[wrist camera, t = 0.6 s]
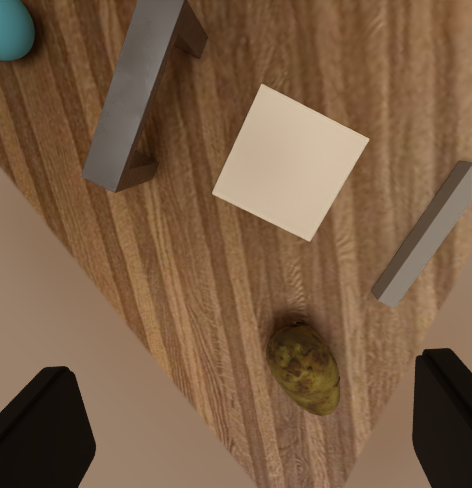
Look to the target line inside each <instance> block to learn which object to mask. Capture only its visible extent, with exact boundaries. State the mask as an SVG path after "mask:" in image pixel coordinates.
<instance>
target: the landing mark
mask: <svg viewBox="0 0 472 488" xmlns="http://www.w3.org/2000/svg"><path fill="white" fill-rule="evenodd" d="M368 141H369V139H368V138H367V137H365V136H363V135H361V134H359V133H357V132H355V131H353V130H351V129H349V128H347V127H345V126H343V125H341V124H339V123H337V122H335V121H333V120H331V119H330V118H328V117H326V116H324V115H322V114H320V113H318V112H316V111H314V110H312V109H310V108H308V107H306V106H304V105H302V104H300V103H298V102H296V101H294V100H293V99H291V98H289V97H287V96H285V95H283V94H281V93H279V92H277V91H275V90H273V89H271V88H269V87H267V86H265V85H263V84H261V86H260V89H259V91H258V93H257V95H256V97H255V100H254V102H253V104H252V106H251V108H250V111H249V113H248V115H247V117H246V119H245V122H244V124H243V126H242V128H241V130H240V133H239V135H238V137H237V139H236V141H235V143H234V146H233V148H232V150H231V152H230V154H229V157H228V159H227V161H226V163H225V165H224V168H223V170H222V172H221V174H220V176H219V179H218V181H217V183H216V185H215V187H214V190H213V192H212V194H213V195H215V196H217V197H219V198H221V199H223V200H225V201H228V202H230V203H232V204H234V205H236V206H238V207H240V208H242V209H244V210H246V211H248V212H250V213H252V214H254V215H256V216H258V217H260V218H262V219H264V220H266V221H268V222H270V223H272V224H274V225H276V226H279V227H281V228H283V229H285V230H287V231H289V232H291V233H293V234H295V235H297V236H299V237H301V238H303V239H305V240H307V241H309V242H310V241H311V239H312V237H313V236H314V234H315V232H316V231H317V229H318V227H319V225H320V224H321V222H322V220H323V219H324V217H325V215H326V213H327V212H328V210H329V208H330V206H331V205H332V203H333V201H334V200H335V198H336V196H337V194H338V193H339V191H340V189H341V188H342V186H343V184H344V182H345V181H346V179H347V177H348V175H349V174H350V172H351V170H352V169H353V167H354V165H355V163H356V162H357V160H358V158H359V157H360V155H361V153H362V151H363V150H364V148H365V146H366V144H367V143H368Z"/></svg>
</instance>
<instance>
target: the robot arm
mask: <svg viewBox="0 0 472 488" xmlns="http://www.w3.org/2000/svg"><path fill="white" fill-rule="evenodd" d="M412 440H413V446H414V450H415V453H416V455H417V457H418V459H419V462H420V464H421V466H422V468H423V470H424V472H425V474H426V476H427V478H428V481H429V483H430V485H431V487H432V488H472V373H471V371H470V370H469V369H468V368H467V367H466V366H465V365H464V363H463V362H462V361H461V360H460V359H459V358H458V357H457V355H456V354H455V353H454V352H453V351H452V350H451V349H449V348H441V349H425V350H424V351H423V353H422V355H419V356H417V357H416V364H415V387H414V409H413V434H412ZM95 451H96V443H95V440H94V437H93V433H92V430H91V426H90V423H89V420H88V417H87V413H86V410H85V407H84V403H83V400H82V397H81V393H80V390H79V387H78V383H77V380H76V377H75V374H74V373H73V372H72V371H70V370H69V368H68V367H65V366H59V367H46V368H43V369H42V370H41V371H40V372H39V373H38V374H37V375H36V376H35V377H34V378H33V379H32V380H31V381H30V382H29V383H28V385H26V386H25V387H24V388H23V389H22V390H21V392H20V393H19V394H18V395H17V396H16V397H15V398H14V399H13V400H12V401H11V402H10V403H9V404H8V405H7V406H6V407H5V408H4V409H3V410H2V411H1V412H0V488H78V486H79V484H80V482H81V481H82V479H83V477H84V475H85V473H86V471H87V470H88V468H89V466H90V464H91V462H92V460H93V458H94V456H95Z"/></svg>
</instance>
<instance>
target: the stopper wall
mask: <svg viewBox="0 0 472 488" xmlns="http://www.w3.org/2000/svg"><path fill="white" fill-rule="evenodd" d="M471 201H472V162H465V161H459V162H458V164H457V165H456V166H455V168H454V169H453V171H452V172H451V174H450V175H449V177H448V178H447V180H446V181H445V183H444V184H443V186H442V187H441V189H440V190H439V192H438V193H437V194H436V196H435V197H434V199H433V200H432V202H431V203H430V205H429V206H428V208H427V209H426V211H425V212H424V214H423V215H422V217H421V218H420V219H419V221H418V222H417V224H416V225H415V227H414V228H413V230H412V231H411V233H410V234H409V236H408V237H407V239H406V240H405V242H404V243H403V245H402V246H401V247H400V249H399V250H398V252H397V253H396V255H395V256H394V258H393V259H392V261H391V262H390V264H389V265H388V267H387V268H386V270H385V271H384V273H383V274H382V275H381V277H380V278H379V280H378V281H377V283H376V284H375V286H374V287H373V289H372V290H371V291H372V293H373V294H374V296H375V297H376V299H377V300H378V301H380V302H382V303H384V304H386V305H388V306H390V307H392V308H395V307H396V306H397V304H398V303H399V301H400V300H401V299H402V297H403V296H404V294H405V293H406V292H407V290H408V289H409V287H410V286H411V285H412V283H413V282H414V280H415V279H416V278H417V276H418V275H419V274H420V272H421V271H422V269H423V268H424V267H425V265H426V264H427V262H428V261H429V260H430V258H431V257H432V255H433V254H434V253H435V251H436V250H437V248H438V247H439V246H440V244H441V243H442V242H443V240H444V239H445V237H446V236H447V235H448V233H449V232H450V230H451V229H452V228H453V226H454V225H455V223H456V222H457V221H458V219H459V218H460V216H461V215H462V214H463V212H464V211H465V210H466V208H467V207H468V205H469V204H470V203H471Z"/></svg>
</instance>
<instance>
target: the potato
mask: <svg viewBox="0 0 472 488" xmlns="http://www.w3.org/2000/svg"><path fill="white" fill-rule="evenodd" d="M266 359H267V363H268V365H269V368H270V369H271V372H272V374H273V375H274V377H275V379H276V380H277V382H278V383H279V384H280V386H281V387H282V388H283V390H284V391H285V392H286V393H287V394H288V396H289V397H290V398H291V399H292V400H293V401H294V402H296V403H297V404H298V405H299V406H300V407H302V408H303V409H305V410H306V411H308V412H310V413H312V414H315V415H319V416H322V415H327V414H330V413H331V412H333V411H334V410H335V409H336V407H337V406H338V403H339V397H340V385H339V381H340V377H339V372H338V367H337V364H336V361H335V359H334V357H333V355H332V354H331V352H330V351H329V349H328V348H327V346H326V345H325V343H324V341H323V340H322V338H321V337H320V336H319V335H318V334H317V333H316V331H315V330H313V329H312V328H310V327H309V325H307V324H306V323H305V322H304V321H301V322H297V323H296V324H292V325H289V326H285V327H283V328H282V329H280V330H278V331H277V332H275V333H274V334H273V335H272V336H271V337H270V340H269V342H268V345H267V349H266Z"/></svg>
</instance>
